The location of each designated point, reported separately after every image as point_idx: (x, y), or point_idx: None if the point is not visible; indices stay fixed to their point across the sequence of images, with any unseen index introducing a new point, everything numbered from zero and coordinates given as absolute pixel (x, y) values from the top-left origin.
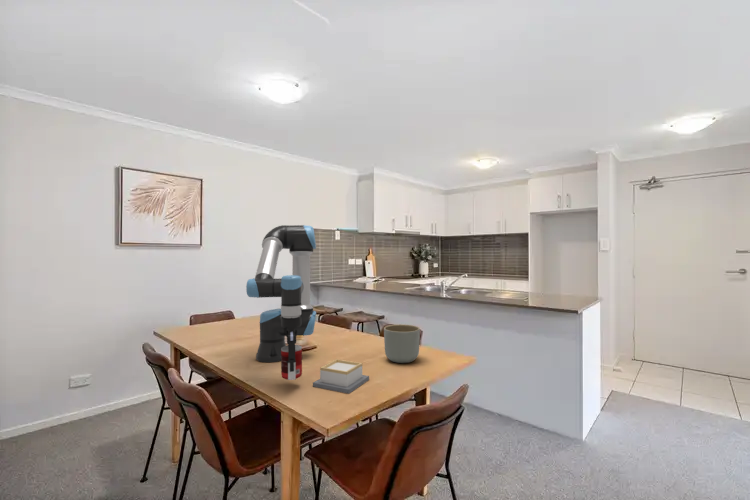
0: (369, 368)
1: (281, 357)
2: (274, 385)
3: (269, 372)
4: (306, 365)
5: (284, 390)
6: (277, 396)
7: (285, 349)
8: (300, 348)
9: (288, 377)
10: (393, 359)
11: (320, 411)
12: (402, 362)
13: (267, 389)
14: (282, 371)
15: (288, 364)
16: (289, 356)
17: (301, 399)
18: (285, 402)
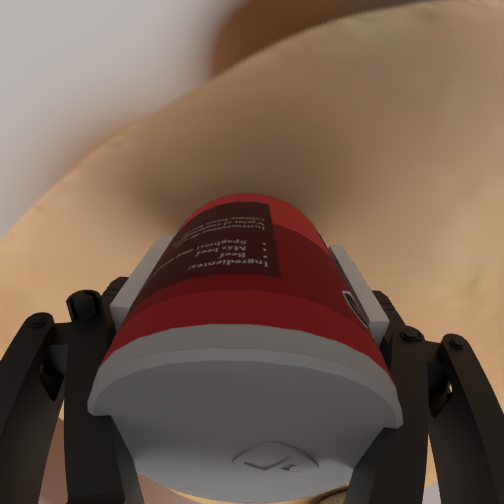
0: None
1: (212, 259)
2: (305, 136)
3: (497, 145)
4: (488, 313)
5: (200, 191)
6: (122, 153)
7: (212, 392)
8: (186, 492)
9: (154, 244)
10: (333, 500)
11: (3, 307)
12: (321, 501)
13: (248, 92)
14: (205, 212)
15: (116, 298)
16: (10, 360)
17: (76, 265)
18: (53, 196)
